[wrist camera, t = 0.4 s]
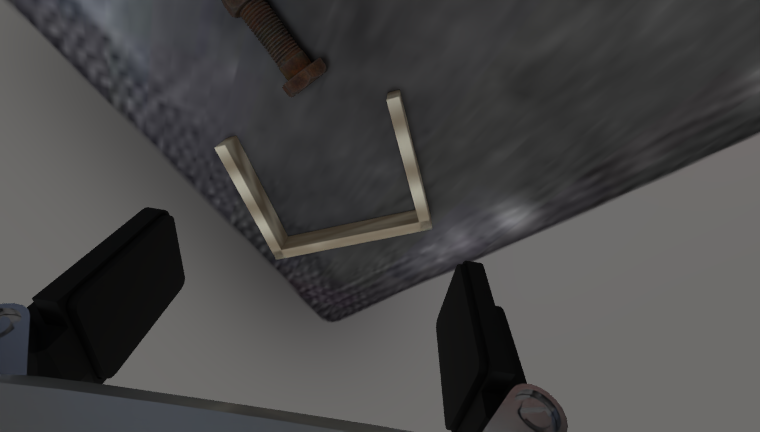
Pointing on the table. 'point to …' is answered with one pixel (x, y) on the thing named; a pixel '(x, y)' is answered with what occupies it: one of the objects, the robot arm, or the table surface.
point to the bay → (338, 235)
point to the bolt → (278, 43)
